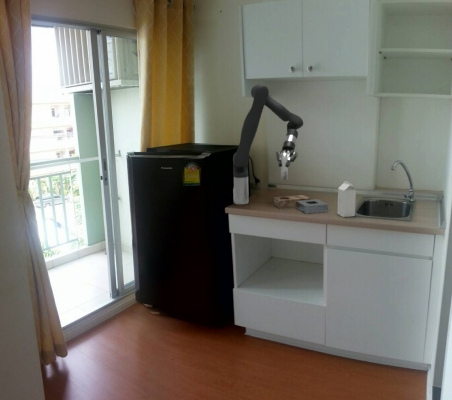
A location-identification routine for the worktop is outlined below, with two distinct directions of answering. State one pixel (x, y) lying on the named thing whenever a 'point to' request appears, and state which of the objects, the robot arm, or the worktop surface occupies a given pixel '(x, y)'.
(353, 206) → the milk carton
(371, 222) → the worktop surface
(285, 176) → the axle
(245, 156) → the robot arm
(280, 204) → the wooden block with hole
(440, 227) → the worktop surface
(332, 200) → the worktop surface
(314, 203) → the holder
